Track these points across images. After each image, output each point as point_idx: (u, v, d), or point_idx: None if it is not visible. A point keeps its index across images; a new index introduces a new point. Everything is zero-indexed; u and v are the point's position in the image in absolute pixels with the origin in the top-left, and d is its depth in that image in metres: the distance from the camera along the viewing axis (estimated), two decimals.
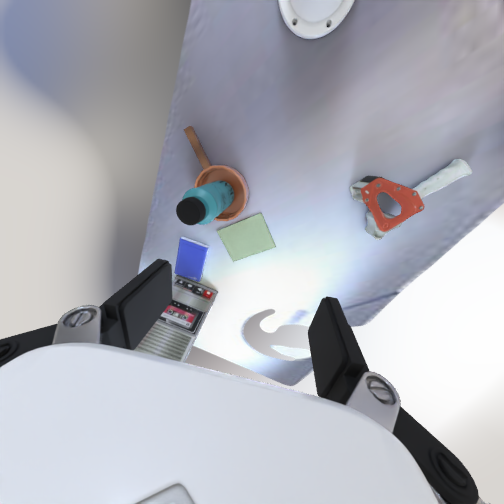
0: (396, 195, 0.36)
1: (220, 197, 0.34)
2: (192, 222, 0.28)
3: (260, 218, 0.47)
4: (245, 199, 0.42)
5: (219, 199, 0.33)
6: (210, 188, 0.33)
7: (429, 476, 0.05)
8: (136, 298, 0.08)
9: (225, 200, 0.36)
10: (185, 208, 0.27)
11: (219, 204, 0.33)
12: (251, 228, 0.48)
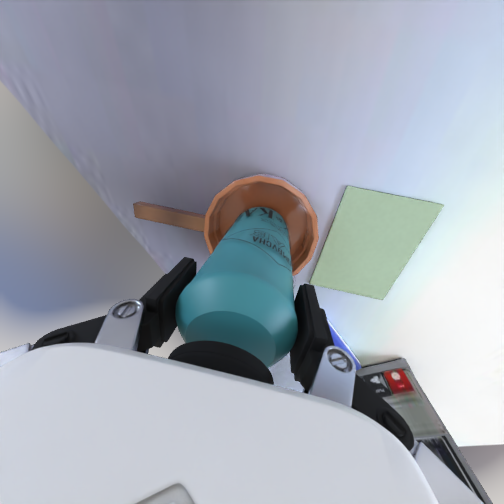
0: None
1: (256, 247, 0.11)
2: None
3: (356, 194, 0.20)
4: (301, 196, 0.18)
5: (257, 255, 0.10)
6: (216, 255, 0.11)
7: None
8: (171, 293, 0.09)
9: (273, 238, 0.13)
10: None
11: (269, 267, 0.10)
12: (358, 226, 0.21)
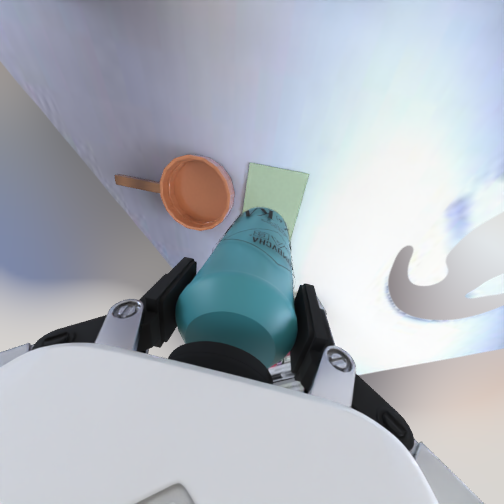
0: None
1: (256, 247, 0.11)
2: None
3: (256, 168, 0.31)
4: (215, 167, 0.29)
5: (257, 255, 0.10)
6: (216, 255, 0.11)
7: None
8: (171, 293, 0.09)
9: (273, 239, 0.13)
10: None
11: (269, 267, 0.10)
12: (261, 190, 0.33)
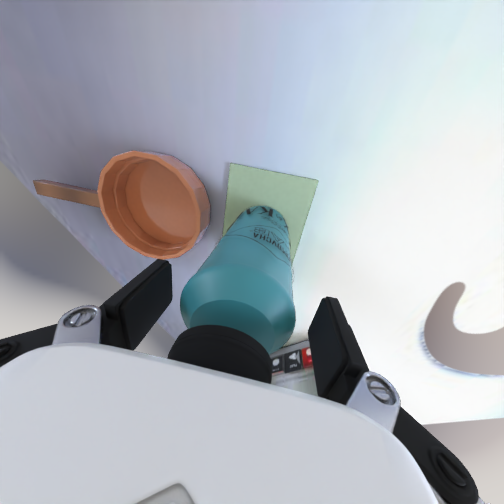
0: None
1: (256, 242, 0.11)
2: None
3: (239, 171, 0.21)
4: (174, 170, 0.19)
5: (258, 250, 0.11)
6: (219, 250, 0.11)
7: (429, 476, 0.05)
8: (136, 298, 0.08)
9: (273, 235, 0.14)
10: None
11: (269, 260, 0.10)
12: (248, 202, 0.23)
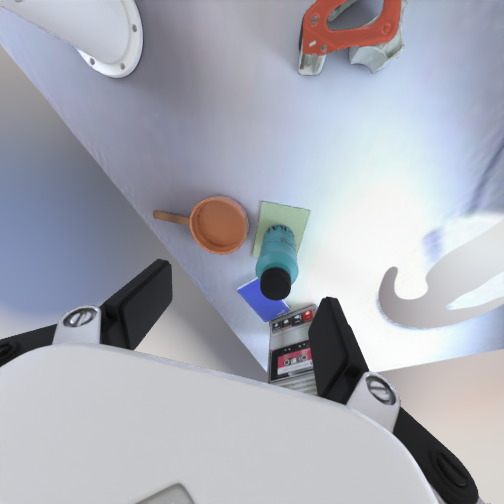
0: None
1: (282, 244, 0.29)
2: (286, 292, 0.23)
3: (267, 205, 0.39)
4: (235, 207, 0.37)
5: (283, 247, 0.28)
6: (268, 247, 0.29)
7: (429, 476, 0.05)
8: (136, 298, 0.08)
9: (288, 241, 0.31)
10: (269, 287, 0.23)
11: (288, 250, 0.28)
12: (271, 222, 0.40)
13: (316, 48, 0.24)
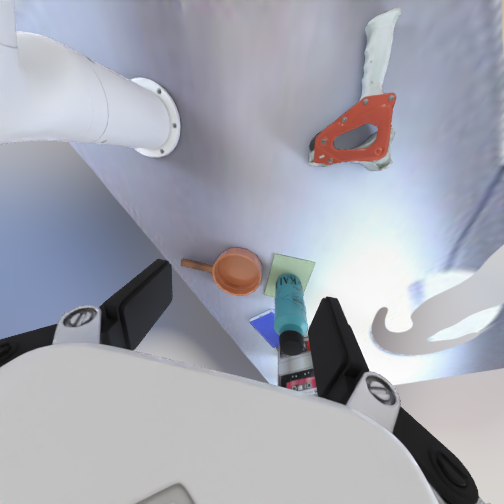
0: (349, 125, 0.29)
1: (294, 303, 0.36)
2: (300, 351, 0.30)
3: (278, 257, 0.46)
4: (252, 261, 0.43)
5: (296, 306, 0.35)
6: (283, 306, 0.36)
7: (429, 476, 0.05)
8: (136, 298, 0.08)
9: (298, 297, 0.38)
10: (287, 347, 0.30)
11: (300, 310, 0.35)
12: (282, 269, 0.47)
13: (324, 160, 0.31)
